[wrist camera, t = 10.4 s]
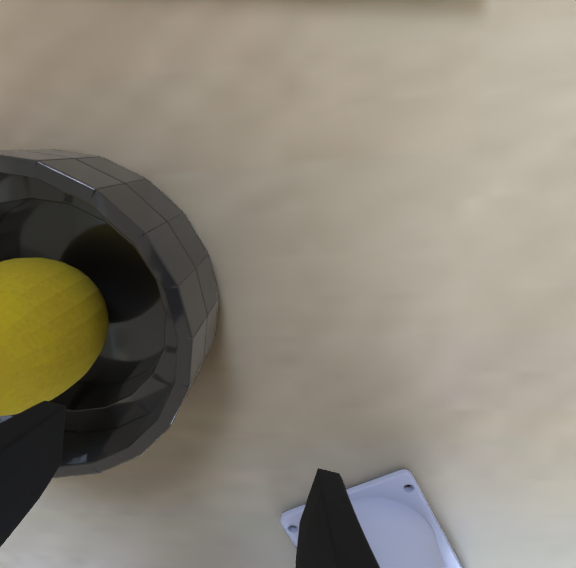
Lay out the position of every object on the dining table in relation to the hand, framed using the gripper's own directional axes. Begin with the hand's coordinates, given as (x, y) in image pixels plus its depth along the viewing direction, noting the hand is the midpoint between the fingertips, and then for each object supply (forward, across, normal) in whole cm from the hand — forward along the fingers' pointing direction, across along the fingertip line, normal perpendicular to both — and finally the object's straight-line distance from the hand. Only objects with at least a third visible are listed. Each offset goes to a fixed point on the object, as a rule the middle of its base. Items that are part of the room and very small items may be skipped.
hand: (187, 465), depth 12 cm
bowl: (+9, +8, 0) cm, 12 cm away
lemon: (+9, +8, 0) cm, 12 cm away
